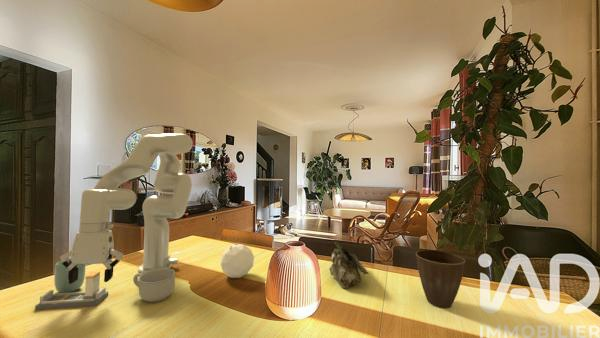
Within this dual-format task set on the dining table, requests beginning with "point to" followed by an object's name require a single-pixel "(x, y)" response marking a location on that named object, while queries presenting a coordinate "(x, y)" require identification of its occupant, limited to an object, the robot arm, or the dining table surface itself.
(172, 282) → the teacup
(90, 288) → the fader tab
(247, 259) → the geodesic sphere
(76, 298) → the grey tray
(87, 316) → the dining table surface
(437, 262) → the plant pot
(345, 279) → the hollow geode rock
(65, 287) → the cup
